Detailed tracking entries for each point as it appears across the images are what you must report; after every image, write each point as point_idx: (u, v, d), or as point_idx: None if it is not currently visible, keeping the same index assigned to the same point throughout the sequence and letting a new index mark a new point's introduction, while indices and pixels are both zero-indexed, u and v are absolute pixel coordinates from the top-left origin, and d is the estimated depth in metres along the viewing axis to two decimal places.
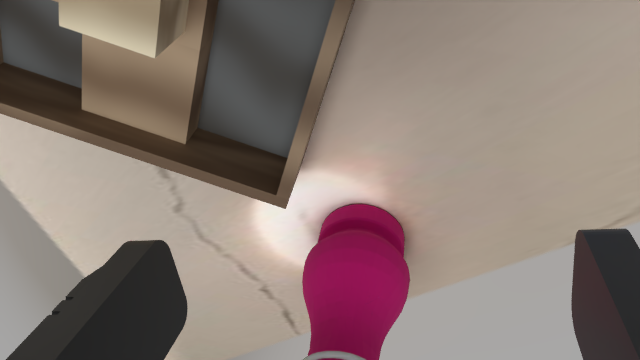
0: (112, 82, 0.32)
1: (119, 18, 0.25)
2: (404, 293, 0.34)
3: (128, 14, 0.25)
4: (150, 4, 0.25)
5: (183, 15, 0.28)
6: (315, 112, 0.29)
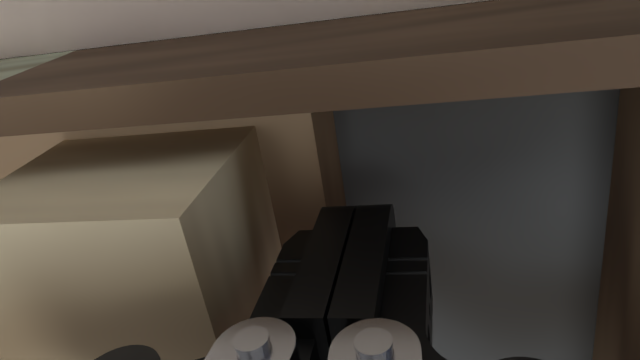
0: None
1: None
2: None
3: None
4: (189, 332, 0.09)
5: None
6: None
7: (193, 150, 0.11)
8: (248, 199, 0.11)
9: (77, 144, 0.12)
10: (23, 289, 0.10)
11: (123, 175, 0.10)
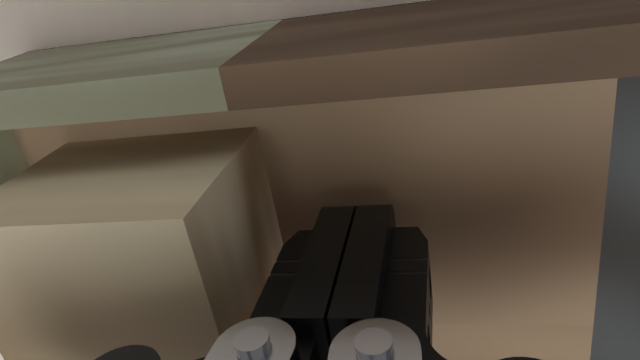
0: None
1: None
2: None
3: None
4: (194, 331, 0.09)
5: None
6: None
7: (196, 151, 0.11)
8: (251, 200, 0.11)
9: (80, 146, 0.13)
10: (29, 291, 0.10)
11: (128, 176, 0.10)
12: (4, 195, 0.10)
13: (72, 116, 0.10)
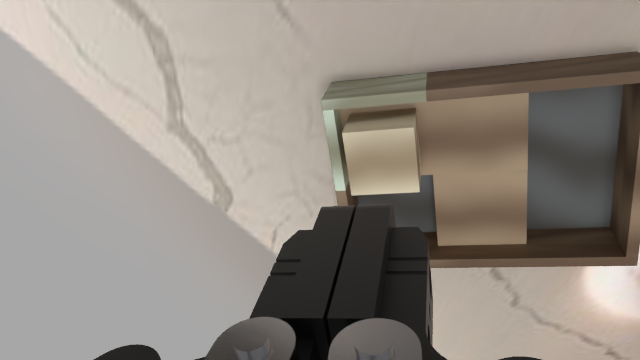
0: (460, 217, 0.43)
1: (391, 175, 0.38)
2: None
3: (396, 170, 0.37)
4: (410, 158, 0.37)
5: (419, 158, 0.40)
6: None
7: (402, 114, 0.38)
8: (416, 128, 0.39)
9: (357, 114, 0.40)
10: (364, 149, 0.37)
11: (387, 120, 0.38)
12: (351, 125, 0.38)
13: (380, 103, 0.37)
